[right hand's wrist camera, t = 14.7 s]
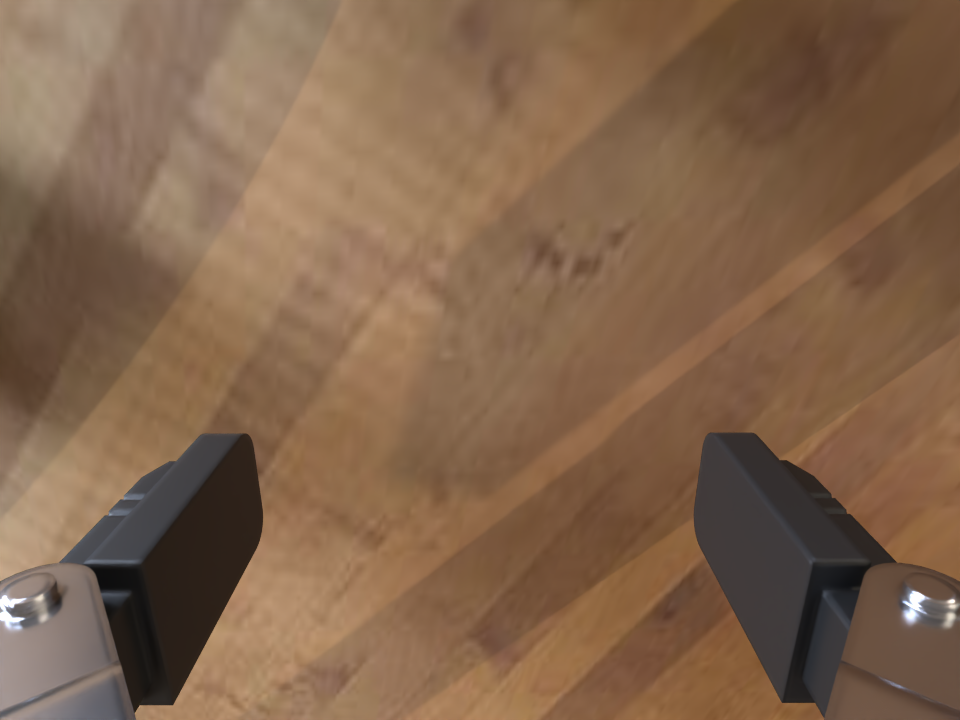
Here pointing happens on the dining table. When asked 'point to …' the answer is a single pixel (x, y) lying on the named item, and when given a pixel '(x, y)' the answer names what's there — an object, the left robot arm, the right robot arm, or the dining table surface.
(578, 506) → the dining table surface
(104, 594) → the right robot arm
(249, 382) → the dining table surface
